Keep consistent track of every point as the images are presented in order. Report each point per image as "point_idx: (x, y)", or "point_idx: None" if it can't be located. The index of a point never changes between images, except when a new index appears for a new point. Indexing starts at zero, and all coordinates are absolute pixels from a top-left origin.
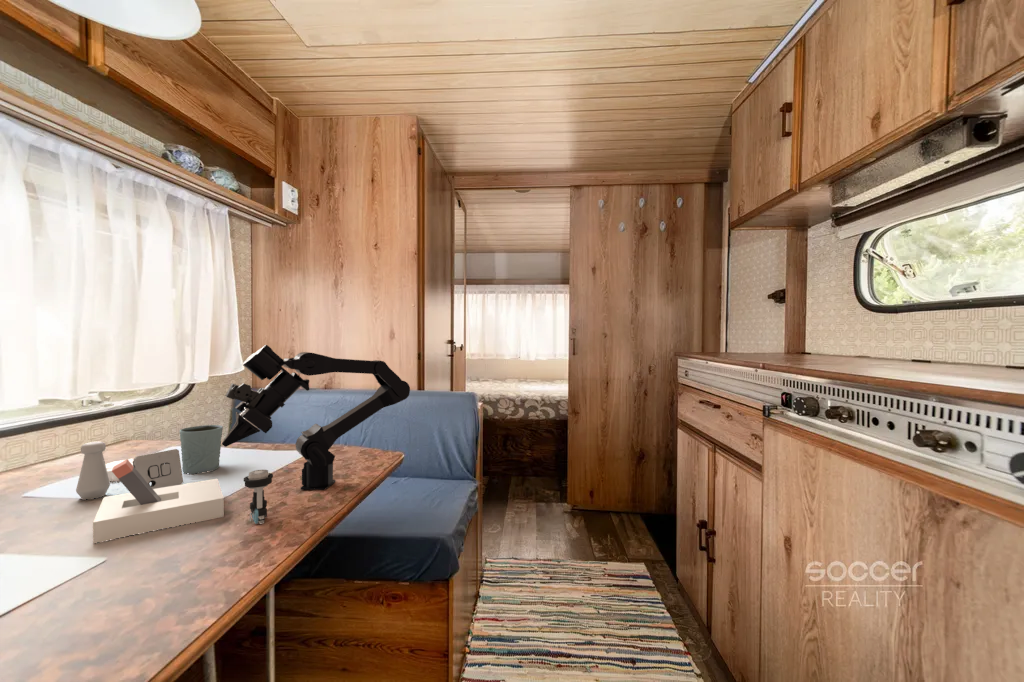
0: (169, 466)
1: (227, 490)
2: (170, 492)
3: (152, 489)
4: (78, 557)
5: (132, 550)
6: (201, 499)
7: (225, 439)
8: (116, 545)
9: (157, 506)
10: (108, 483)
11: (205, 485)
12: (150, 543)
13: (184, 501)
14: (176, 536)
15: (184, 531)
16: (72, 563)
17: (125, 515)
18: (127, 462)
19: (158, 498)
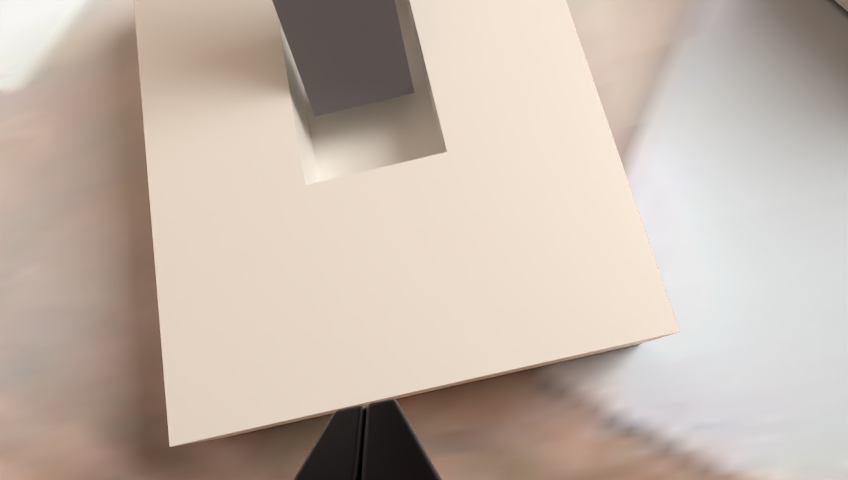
0: None
1: (727, 390)
2: (449, 113)
3: (385, 20)
4: (75, 6)
5: (30, 149)
6: (211, 315)
7: (303, 472)
8: (117, 81)
9: (209, 118)
10: None
11: (520, 281)
12: (63, 190)
13: (222, 229)
14: (80, 269)
15: (122, 288)
16: (33, 9)
17: (149, 24)
18: None
19: (362, 84)
